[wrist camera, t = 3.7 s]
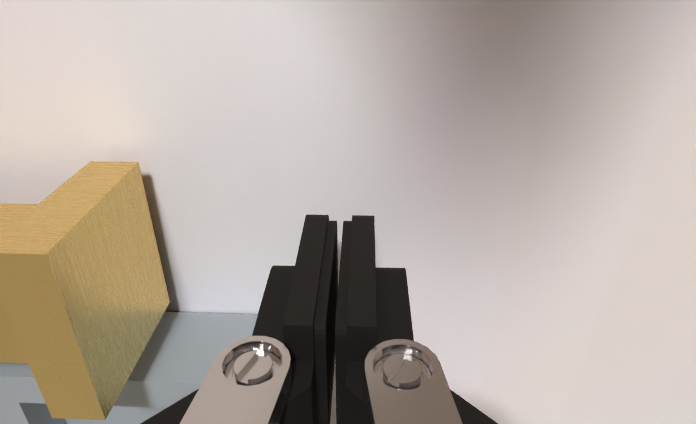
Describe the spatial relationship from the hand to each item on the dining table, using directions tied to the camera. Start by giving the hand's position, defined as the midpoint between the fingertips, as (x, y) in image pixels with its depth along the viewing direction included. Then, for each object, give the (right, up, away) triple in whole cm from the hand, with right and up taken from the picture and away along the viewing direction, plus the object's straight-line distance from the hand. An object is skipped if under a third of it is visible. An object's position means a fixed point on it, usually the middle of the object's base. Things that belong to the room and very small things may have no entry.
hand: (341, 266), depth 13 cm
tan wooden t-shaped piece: (-9, +1, +1) cm, 9 cm away
